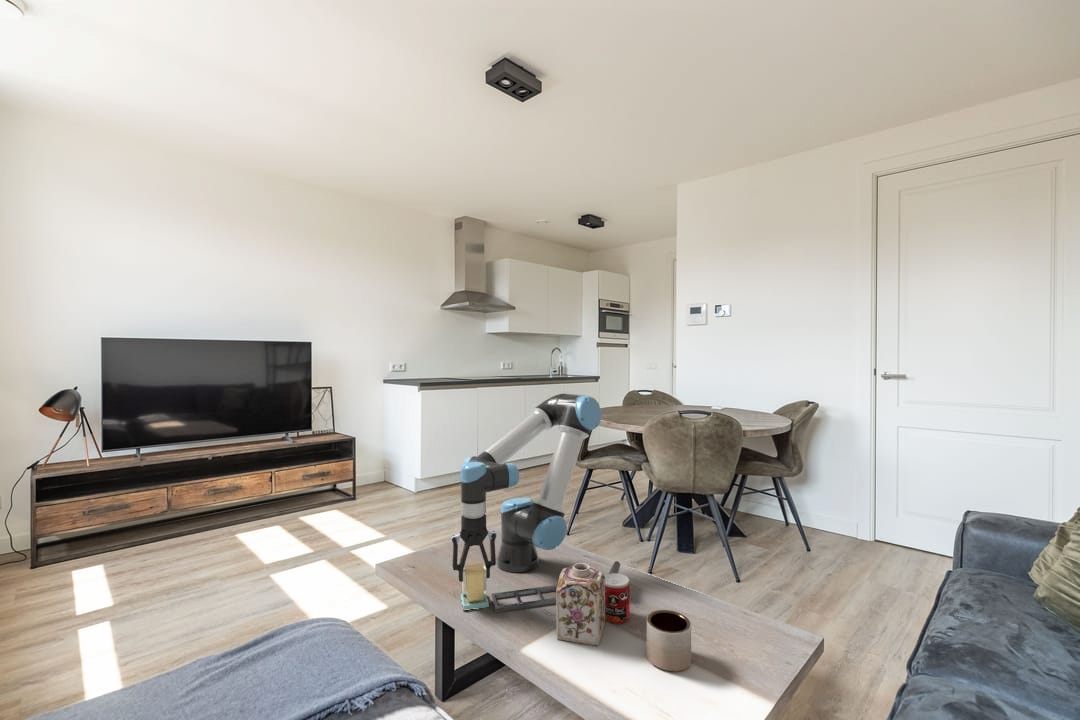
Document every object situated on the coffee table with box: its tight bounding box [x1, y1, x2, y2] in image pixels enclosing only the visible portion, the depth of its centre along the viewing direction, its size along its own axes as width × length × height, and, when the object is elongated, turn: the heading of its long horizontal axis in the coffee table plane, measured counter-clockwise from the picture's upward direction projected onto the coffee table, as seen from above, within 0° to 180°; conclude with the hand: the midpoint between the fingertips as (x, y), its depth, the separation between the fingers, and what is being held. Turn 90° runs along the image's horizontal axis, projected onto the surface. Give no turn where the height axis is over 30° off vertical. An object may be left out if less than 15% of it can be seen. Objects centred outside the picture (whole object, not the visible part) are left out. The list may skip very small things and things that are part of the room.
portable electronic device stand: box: [608, 560, 621, 574], centre depth 154 cm, size 9×8×8 cm
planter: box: [645, 609, 693, 672], centre depth 121 cm, size 11×11×10 cm
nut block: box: [464, 563, 485, 603], centre depth 148 cm, size 6×6×9 cm
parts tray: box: [460, 591, 490, 610], centre depth 148 cm, size 8×8×2 cm
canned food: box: [604, 573, 630, 625], centre depth 140 cm, size 8×8×11 cm
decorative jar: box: [555, 562, 606, 646], centre depth 133 cm, size 12×12×18 cm
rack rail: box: [490, 584, 557, 613], centre depth 150 cm, size 22×9×1 cm, turn 105°
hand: (474, 589), depth 148 cm, fingers closed on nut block, 6 cm apart
